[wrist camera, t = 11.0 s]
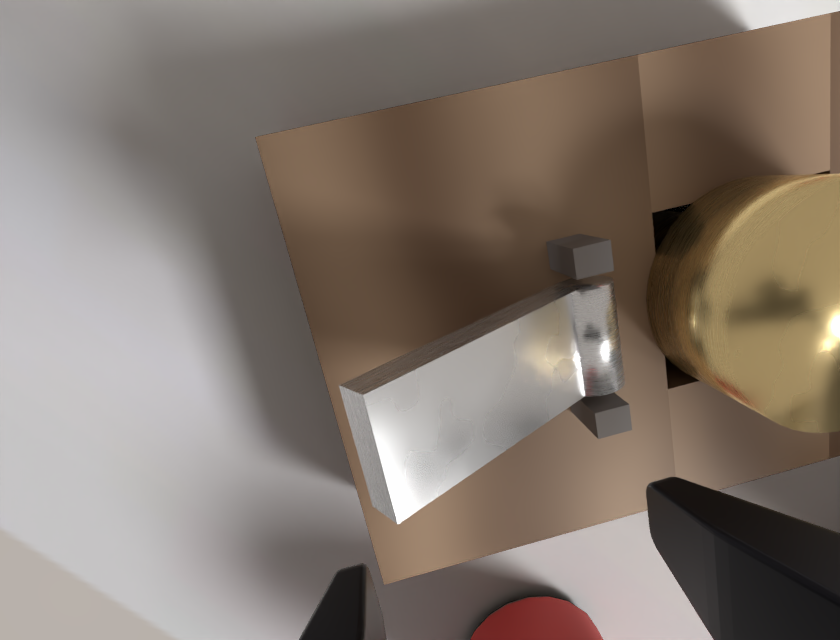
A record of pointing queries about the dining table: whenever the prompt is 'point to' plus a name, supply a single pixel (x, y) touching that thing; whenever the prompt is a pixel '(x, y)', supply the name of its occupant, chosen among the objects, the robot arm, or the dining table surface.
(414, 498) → the latch bar
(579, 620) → the beer can
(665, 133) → the brown rectangular block
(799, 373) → the brass pin
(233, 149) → the dining table surface
